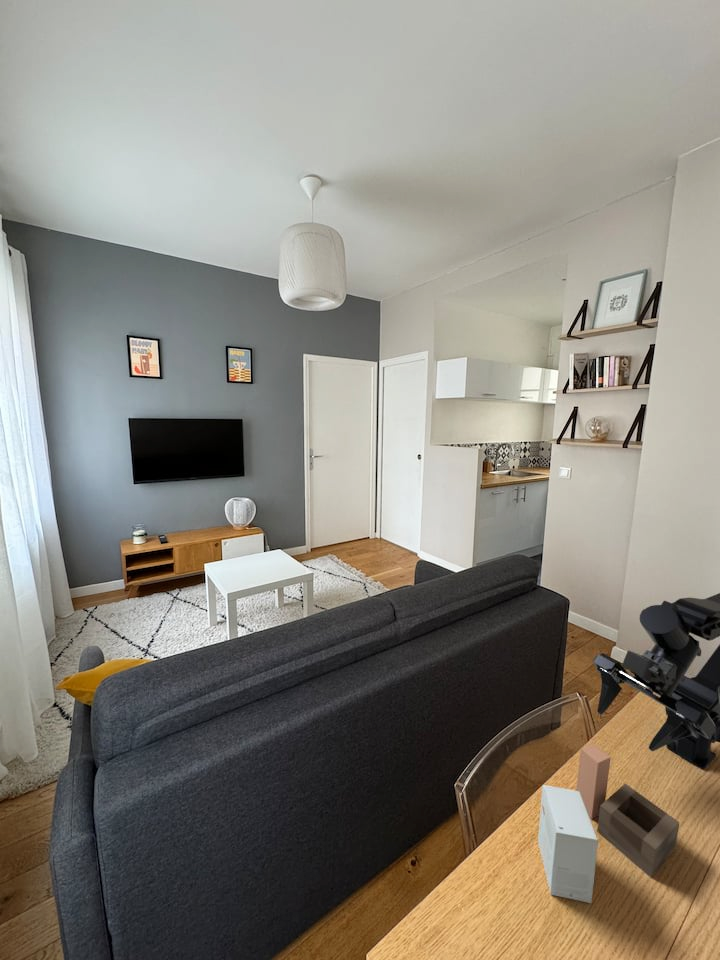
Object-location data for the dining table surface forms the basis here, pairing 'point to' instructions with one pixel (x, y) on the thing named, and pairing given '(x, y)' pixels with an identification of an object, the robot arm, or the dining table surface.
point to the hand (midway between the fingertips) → (623, 730)
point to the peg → (593, 778)
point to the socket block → (638, 829)
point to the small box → (567, 844)
